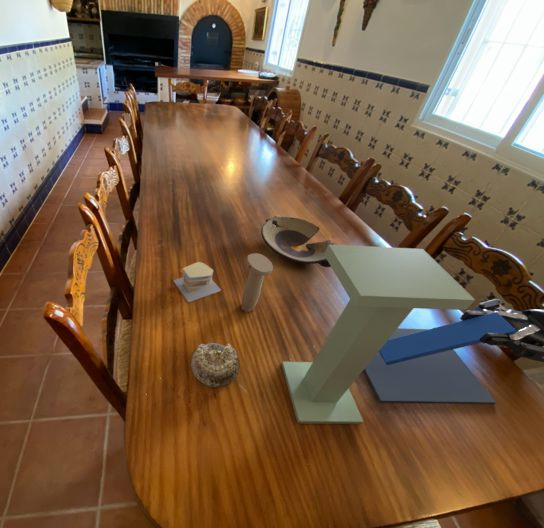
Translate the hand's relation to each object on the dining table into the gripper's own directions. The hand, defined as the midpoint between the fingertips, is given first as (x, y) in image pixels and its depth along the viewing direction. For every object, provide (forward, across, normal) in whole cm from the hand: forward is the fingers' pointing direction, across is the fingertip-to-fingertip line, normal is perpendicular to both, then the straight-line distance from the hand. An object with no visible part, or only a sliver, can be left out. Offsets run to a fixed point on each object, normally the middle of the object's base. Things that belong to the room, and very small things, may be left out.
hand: (474, 327), depth 56 cm
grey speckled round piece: (+48, +1, +14) cm, 50 cm away
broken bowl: (+19, -39, +14) cm, 45 cm away
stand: (+28, +6, +14) cm, 32 cm away
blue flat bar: (+4, 0, +5) cm, 6 cm away
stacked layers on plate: (+51, -23, +14) cm, 58 cm away
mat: (+4, -1, +14) cm, 14 cm away
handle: (+39, -15, +14) cm, 44 cm away
